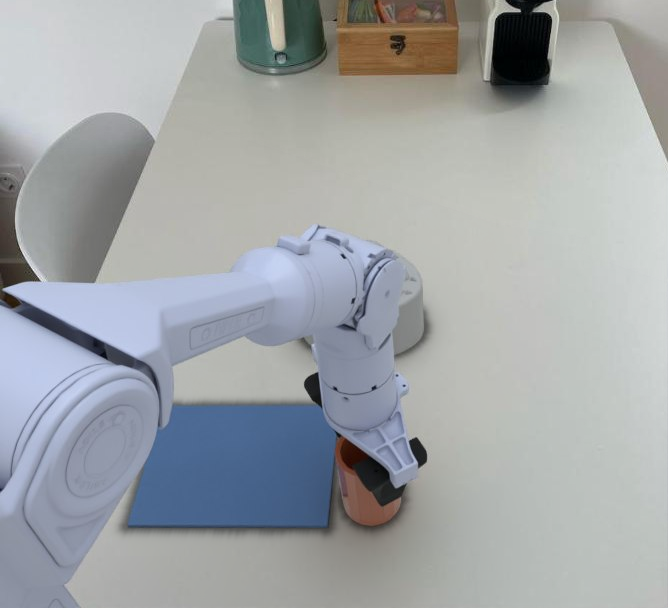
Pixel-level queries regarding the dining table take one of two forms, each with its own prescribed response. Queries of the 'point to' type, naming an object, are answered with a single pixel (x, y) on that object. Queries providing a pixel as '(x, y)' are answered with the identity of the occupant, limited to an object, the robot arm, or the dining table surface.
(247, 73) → the dining table surface
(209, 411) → the towel
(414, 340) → the lumpy-topped squat cylinder
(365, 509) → the cup
